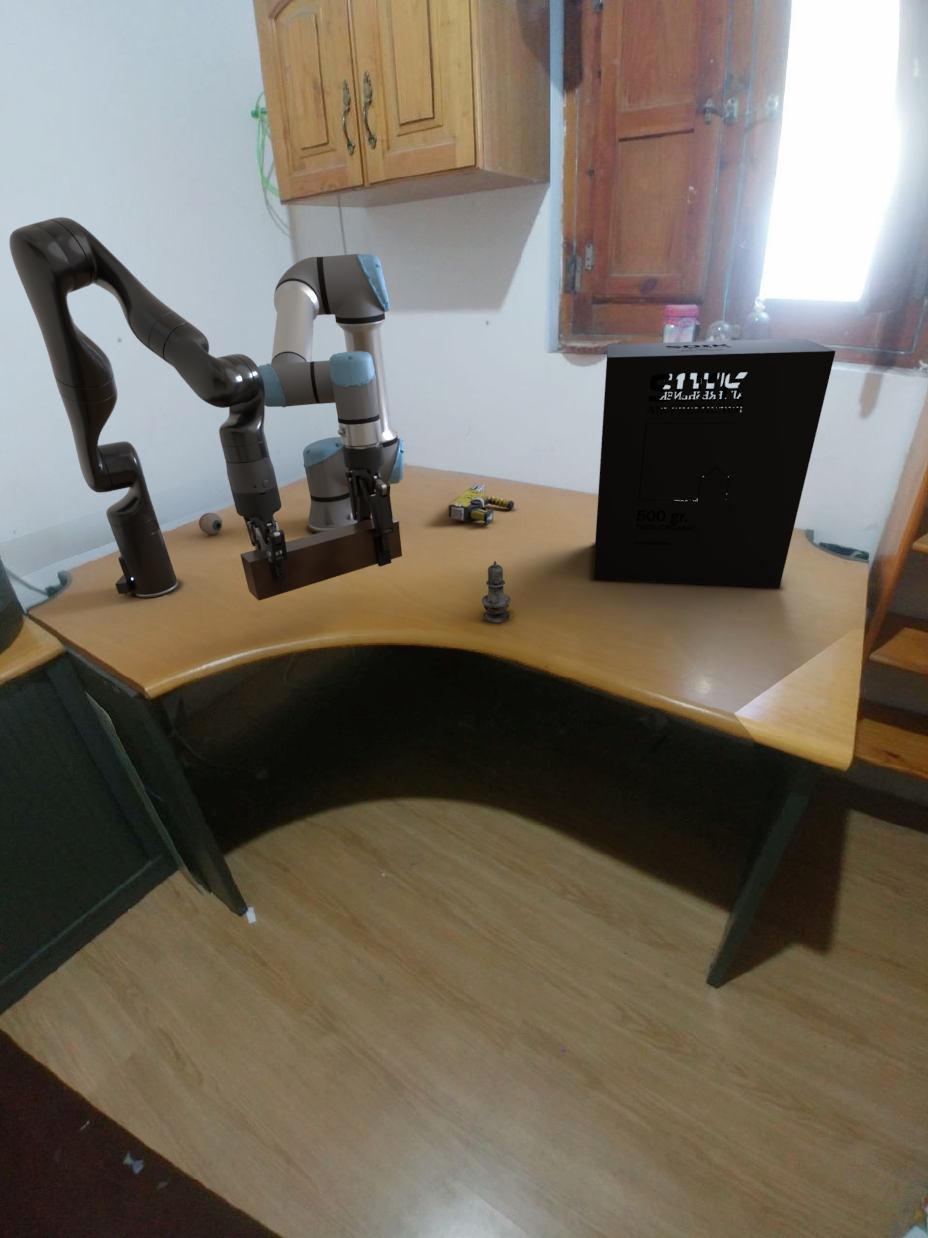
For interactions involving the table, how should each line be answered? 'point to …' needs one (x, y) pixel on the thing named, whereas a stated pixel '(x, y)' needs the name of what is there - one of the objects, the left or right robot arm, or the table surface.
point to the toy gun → (475, 505)
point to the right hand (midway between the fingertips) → (377, 559)
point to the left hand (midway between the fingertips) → (274, 574)
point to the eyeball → (210, 523)
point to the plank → (317, 558)
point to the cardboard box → (706, 459)
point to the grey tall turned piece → (496, 596)
